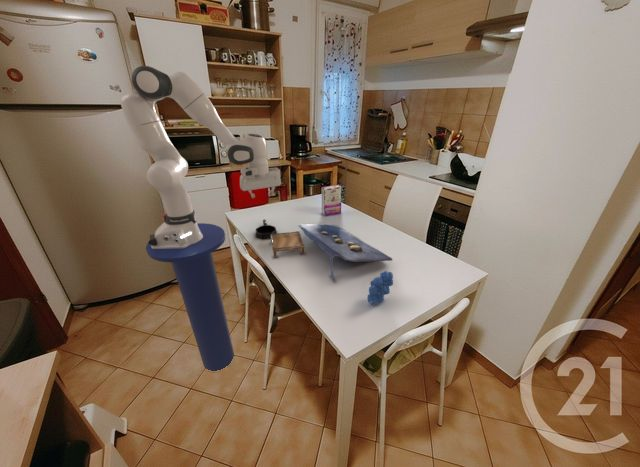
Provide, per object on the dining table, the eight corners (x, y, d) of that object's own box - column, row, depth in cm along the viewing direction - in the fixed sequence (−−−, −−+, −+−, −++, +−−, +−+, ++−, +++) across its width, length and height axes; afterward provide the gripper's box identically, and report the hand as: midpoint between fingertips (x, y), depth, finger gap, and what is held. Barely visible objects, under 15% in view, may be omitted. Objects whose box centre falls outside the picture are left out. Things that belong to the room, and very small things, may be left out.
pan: (256, 240, 128) (256, 235, 127) (255, 224, 144) (254, 219, 143) (277, 238, 131) (276, 232, 129) (273, 222, 146) (273, 217, 145)
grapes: (380, 288, 97) (383, 261, 91) (394, 298, 92) (400, 270, 87) (358, 301, 91) (360, 273, 85) (372, 313, 86) (376, 284, 80)
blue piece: (289, 242, 132) (293, 220, 129) (332, 242, 147) (337, 222, 144) (340, 286, 97) (347, 258, 94) (390, 280, 112) (398, 256, 109)
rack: (273, 258, 114) (272, 248, 112) (270, 243, 126) (270, 234, 124) (305, 254, 117) (304, 245, 115) (299, 239, 129) (299, 230, 127)
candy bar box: (337, 210, 163) (338, 184, 155) (341, 213, 159) (342, 187, 151) (321, 212, 159) (321, 186, 151) (324, 216, 155) (324, 189, 147)
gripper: (277, 165, 134) (280, 191, 141) (237, 170, 126) (241, 197, 133) (281, 168, 129) (283, 195, 136) (239, 173, 121) (243, 201, 128)
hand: (262, 196), depth 134 cm, fingers open, 8 cm apart
